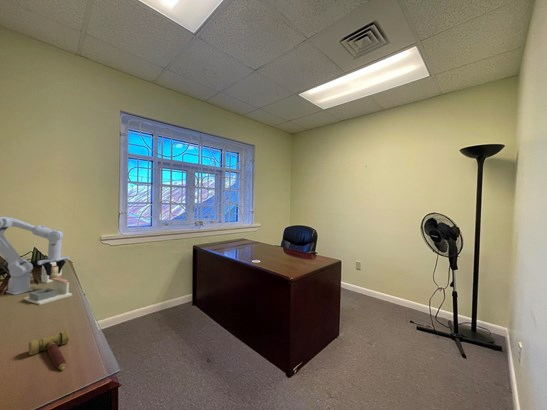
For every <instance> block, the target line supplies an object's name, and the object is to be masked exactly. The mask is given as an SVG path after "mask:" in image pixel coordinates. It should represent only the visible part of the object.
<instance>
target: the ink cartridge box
mask: <svg viewBox="0 0 547 410" xmlns="http://www.w3.org/2000/svg"><path fill="white" fill-rule="evenodd" d="M51 264H52V266H57V265H56V262H52V263H51ZM41 265H42V264H41ZM62 271H63V268H62V269H61V272H60V273H59V274H58V278H62V277H63V275H62V273H63V272H62ZM52 282H53V281H52V280H50V279H49V276H48V275H47V273H46V270H45V268H44V266H43V265H42V266H41V283H52Z"/></svg>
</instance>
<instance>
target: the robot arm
mask: <svg viewBox="0 0 547 410" xmlns="http://www.w3.org/2000/svg"><path fill="white" fill-rule="evenodd" d="M10 227H11V228H12V227H15V228H18V229H22V230H26V231H29V232H31V233H32V234H33V235H34V236H37V237H41V238H44V239H47V241H48V245H47V246H48V249H47V250H48V251H47V258H46V259H41V260H37V265H39V266H40V265H43V266H44V268H45V270H46V273H47V275H48V276H50V275H51V267H52V264H51V263H52V262H56V265H57V266H59V267H58V274H59V273H60V272H61V269H62V270H63V267H64V265H65V264H66V262H67V261H70V260H71V259H70V258H71V257H70V256H68V255H67V256H62V243H63V241H62V240H63V238H64V233H63V231H61V230H58V229H57V230H55V228H49V227H46V225H45V224H43V225H40V224H39V225H33V224H31V223H28V222H26V221H22V220H20V219H18V218H15V217H11V216H8V215H4V216H0V255H1V256H2V258H3V259H5V261H6V262H7V269H8V272H9V275H10V278H9V279H8V284H7V285H8V290H5V292H6V293H8V294H11V295H19V294H24V293H27V292H28V293H29V292H33V291H34V289H33V288H31V271H33V270H34V266H33V264H32V263H31V262H30V261H28V260H27V259H25V258H22V257H21V256H20V254H19V253H18V252H17V250H16V249H15V248H14V247H13V245H12V244H11V243H10V241H9V239H7V238H6V236H5V235H4V234H5V232H6V231H7V230H8V229H9V228H10Z"/></svg>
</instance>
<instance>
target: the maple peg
mask: <svg viewBox="0 0 547 410" xmlns="http://www.w3.org/2000/svg"><path fill="white" fill-rule="evenodd" d="M58 267H59V266H52V267H51V275H50V276H49V279H50V280H52V278H56V277H58Z"/></svg>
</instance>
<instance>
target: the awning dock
mask: <svg viewBox="0 0 547 410" xmlns="http://www.w3.org/2000/svg"><path fill="white" fill-rule="evenodd" d="M52 282H54V287H53V289H52V288H49V287H47V288H43V289H40V290H36V291H35V290H34V291H30V292H28V293H29V294H28V295H29V296H26V297H23V300H25V301H27V302H30V303H33V304H36V305H38V306H40V305H44V304H48V303H51V302H54V301H58V300H62V299H65V298H68V297H72V296H73V293H71V292H69V289H70V280H69V279H65V278H62V277H61V278H58V277H56V278H52Z"/></svg>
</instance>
